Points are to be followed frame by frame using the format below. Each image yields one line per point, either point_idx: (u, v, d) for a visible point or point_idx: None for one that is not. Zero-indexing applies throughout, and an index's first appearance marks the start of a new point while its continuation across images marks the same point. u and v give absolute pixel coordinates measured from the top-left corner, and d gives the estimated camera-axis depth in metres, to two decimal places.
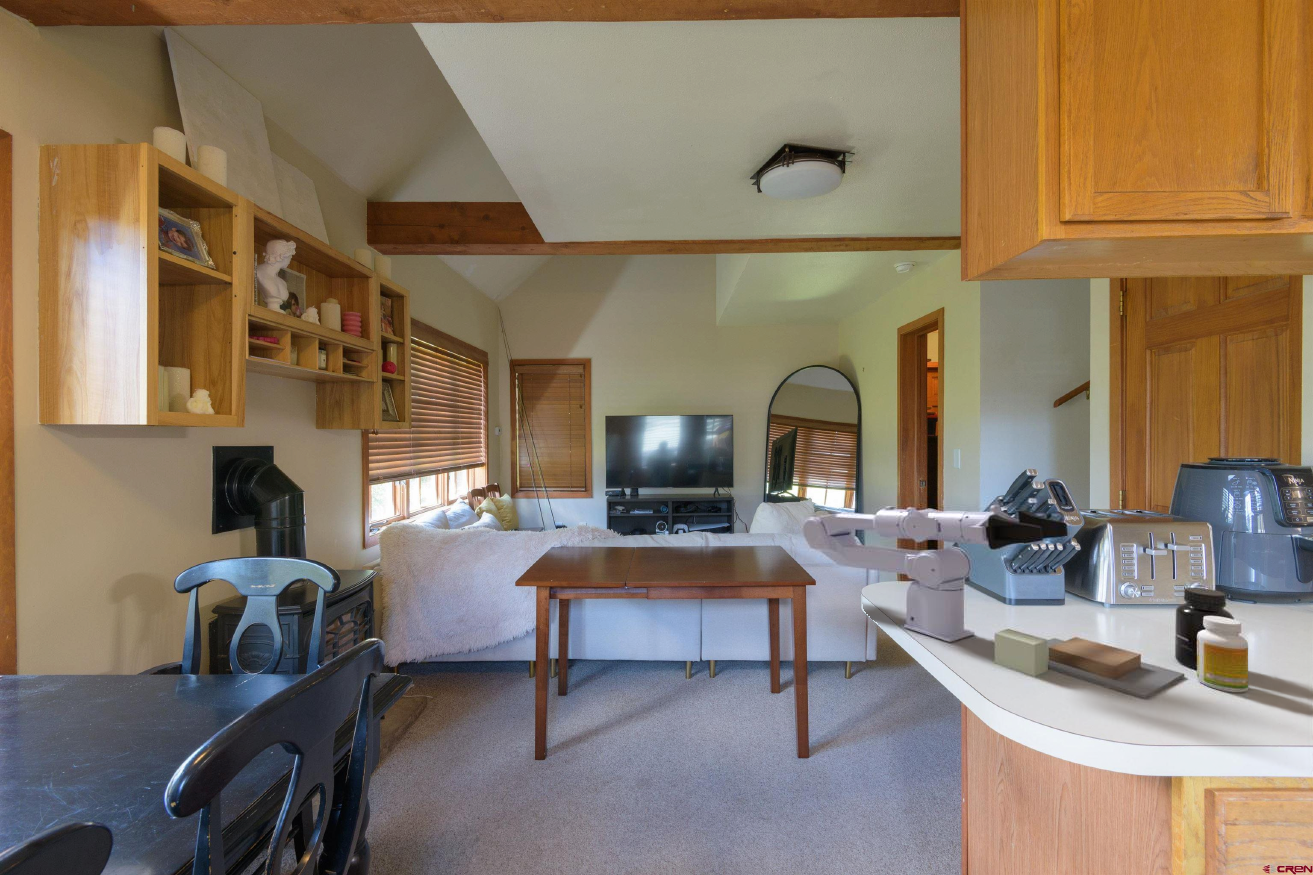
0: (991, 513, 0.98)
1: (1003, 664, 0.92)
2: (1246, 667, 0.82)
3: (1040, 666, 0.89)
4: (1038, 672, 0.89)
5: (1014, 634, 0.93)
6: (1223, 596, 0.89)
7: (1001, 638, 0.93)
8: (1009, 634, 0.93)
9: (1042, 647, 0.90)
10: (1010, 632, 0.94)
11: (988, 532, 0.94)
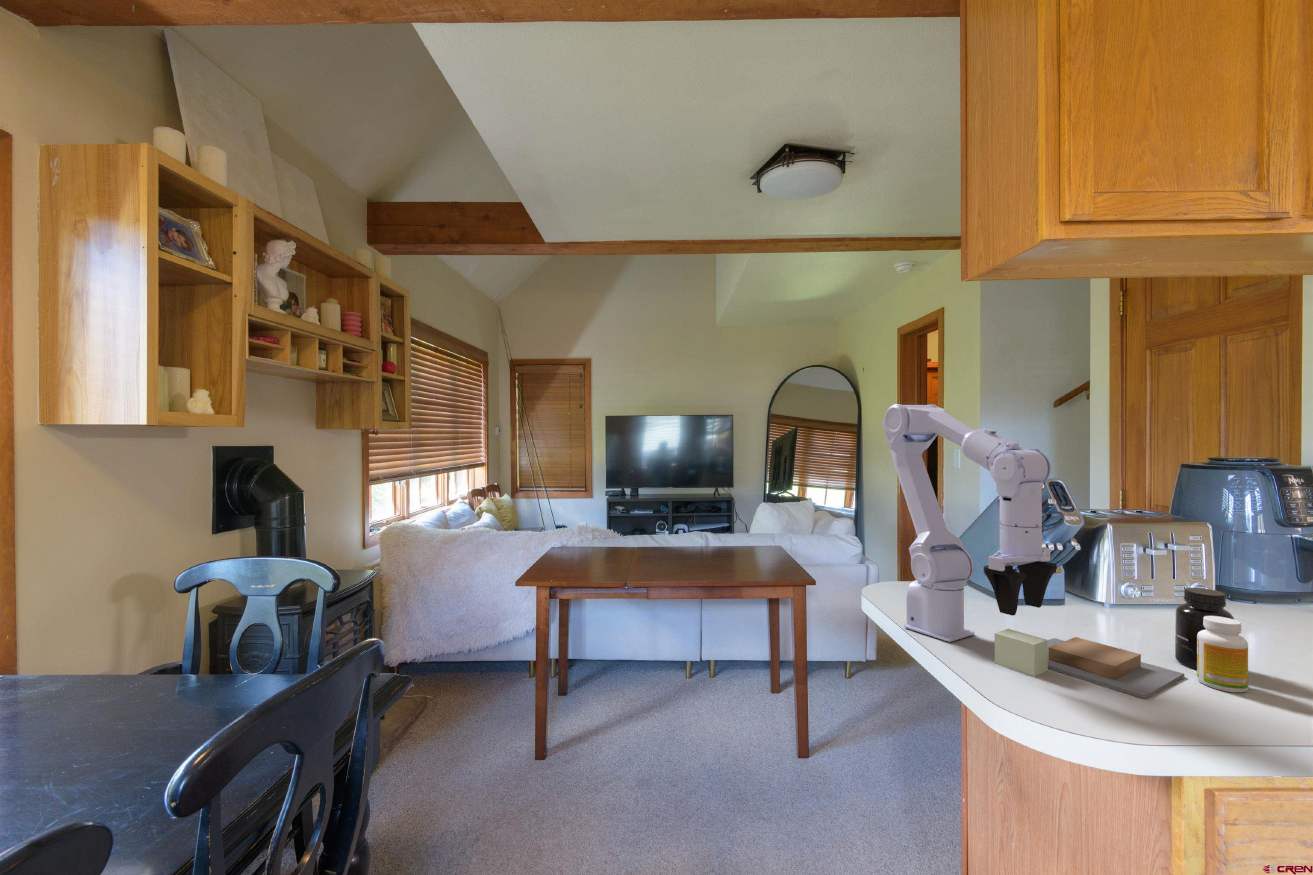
0: (1033, 558, 0.89)
1: (1003, 664, 0.92)
2: (1246, 667, 0.82)
3: (1040, 666, 0.89)
4: (1038, 672, 0.89)
5: (1014, 634, 0.93)
6: (1223, 596, 0.89)
7: (1001, 638, 0.93)
8: (1009, 634, 0.93)
9: (1042, 647, 0.90)
10: (1010, 632, 0.94)
11: (999, 571, 0.89)
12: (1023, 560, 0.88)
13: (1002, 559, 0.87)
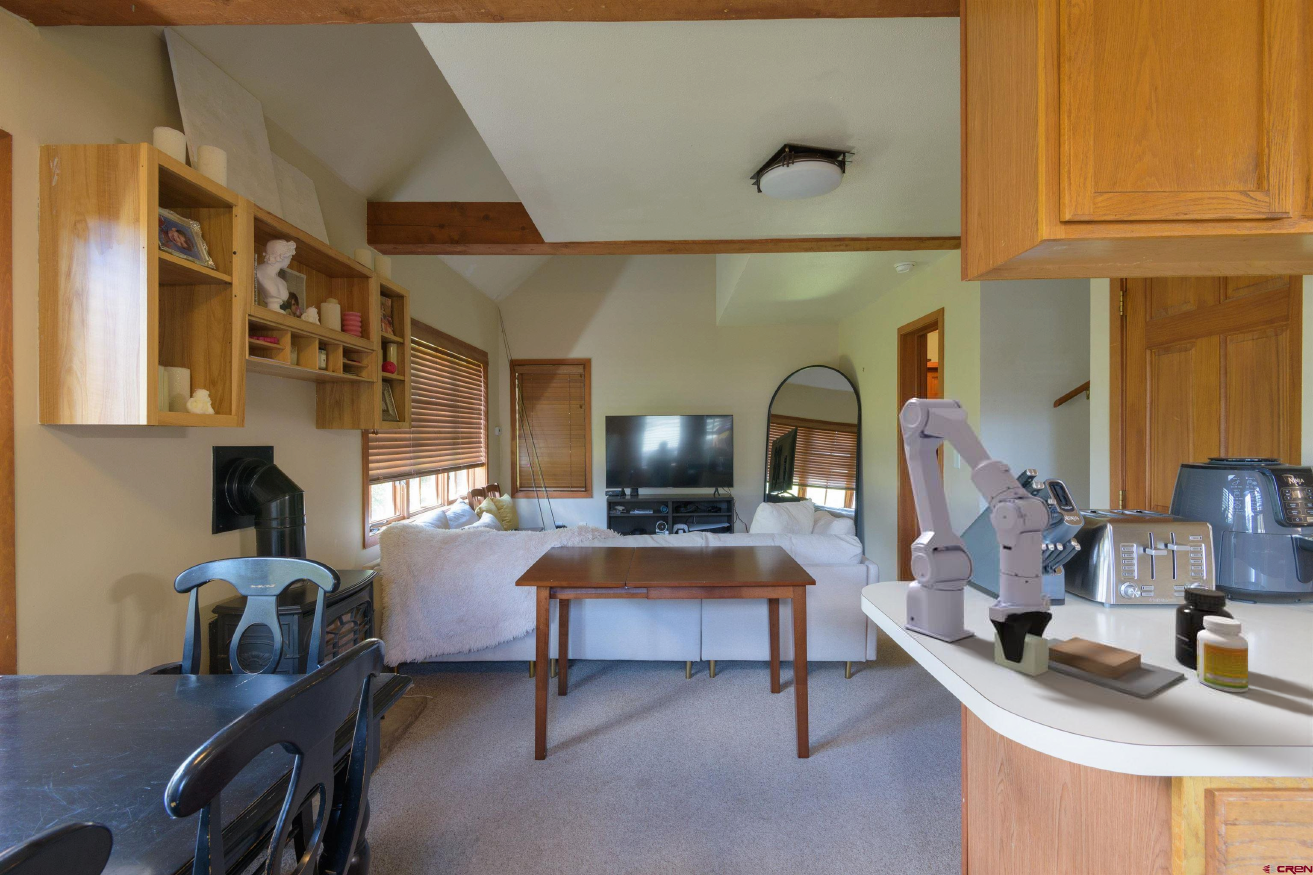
0: (1034, 608, 0.89)
1: (1003, 663, 0.92)
2: (1246, 667, 0.82)
3: (1040, 665, 0.89)
4: (1038, 671, 0.89)
5: None
6: (1223, 596, 0.89)
7: None
8: None
9: (1042, 646, 0.90)
10: None
11: (1004, 619, 0.90)
12: (1023, 610, 0.89)
13: (1002, 610, 0.88)
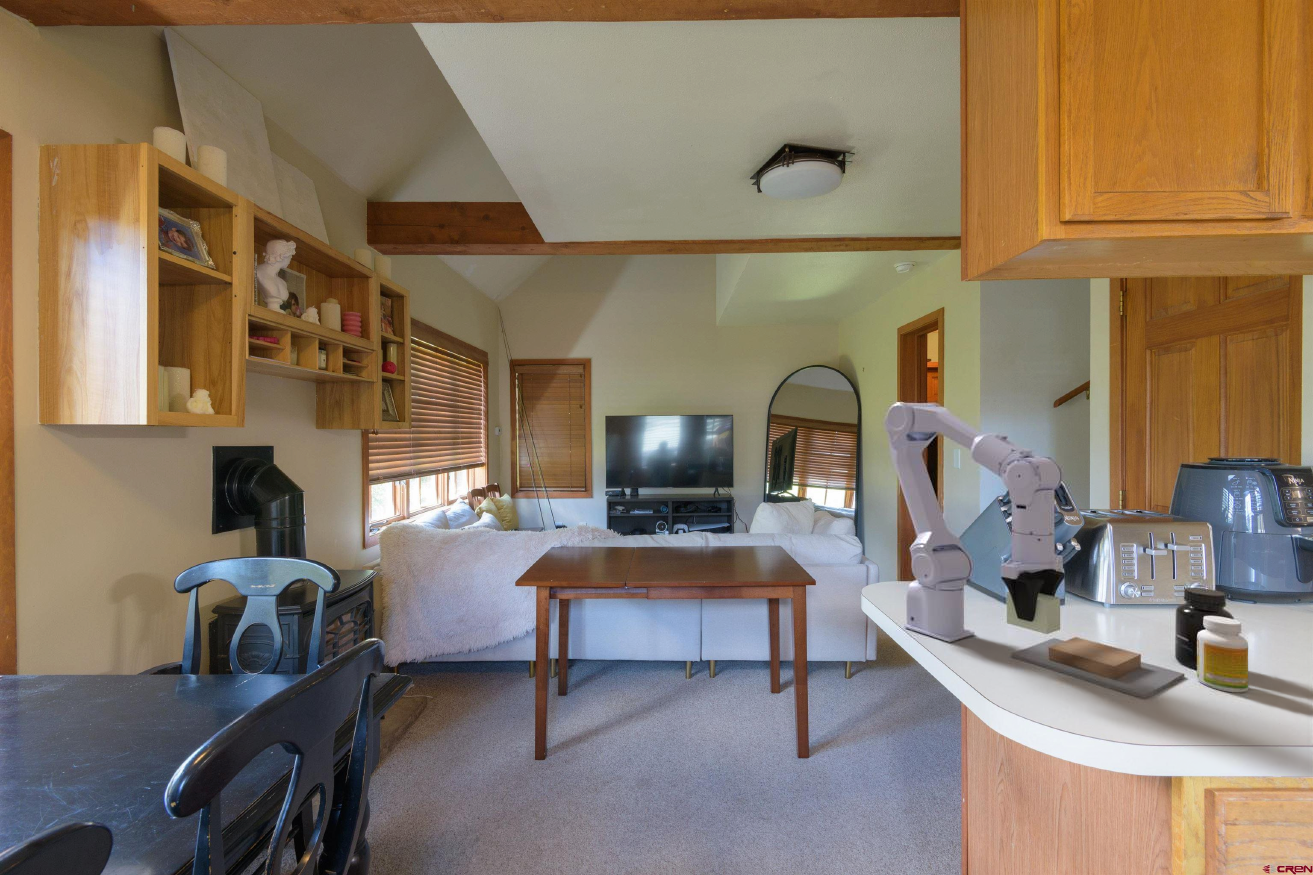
0: (1046, 566, 0.89)
1: (1015, 623, 0.92)
2: (1246, 667, 0.82)
3: (1053, 624, 0.89)
4: (1051, 630, 0.89)
5: None
6: (1223, 596, 0.89)
7: None
8: None
9: (1055, 605, 0.89)
10: None
11: (1017, 578, 0.89)
12: (1036, 568, 0.88)
13: (1015, 567, 0.87)
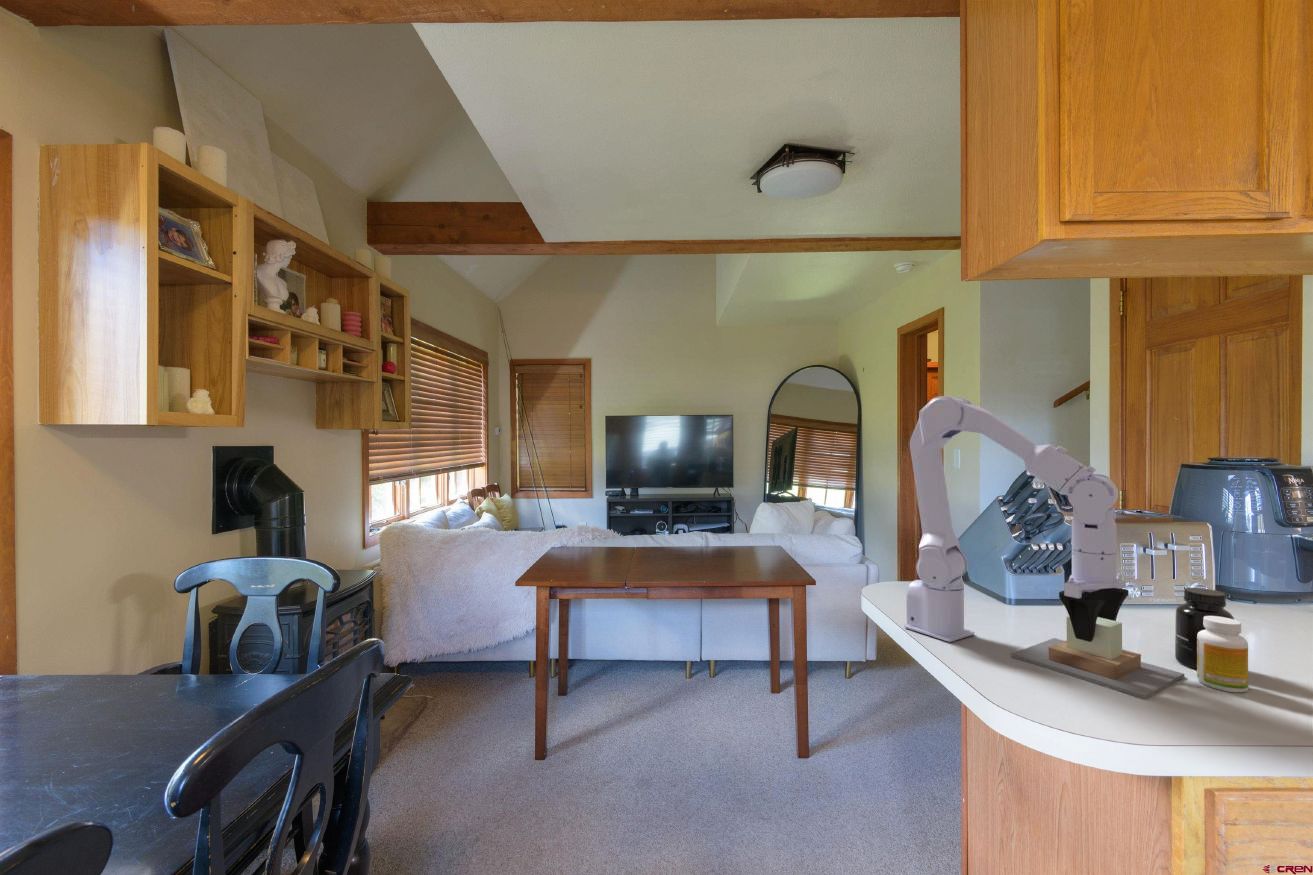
0: (1109, 585, 0.89)
1: (1076, 647, 0.92)
2: (1246, 667, 0.82)
3: (1115, 649, 0.89)
4: (1114, 655, 0.89)
5: None
6: (1223, 596, 0.89)
7: None
8: None
9: (1117, 630, 0.90)
10: None
11: (1076, 597, 0.89)
12: (1099, 587, 0.88)
13: (1079, 586, 0.87)
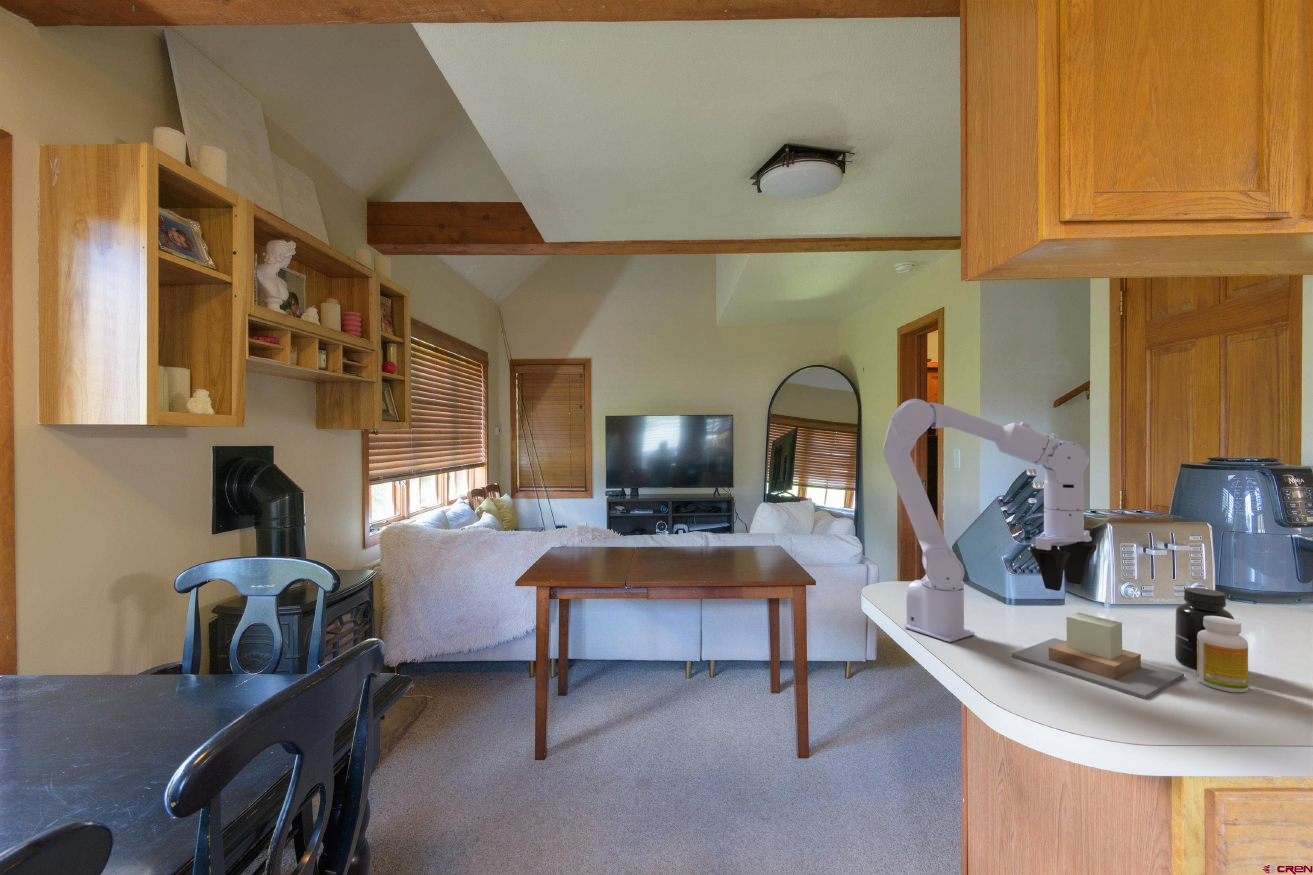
0: (1077, 539, 0.98)
1: (1076, 647, 0.92)
2: (1246, 667, 0.82)
3: (1115, 649, 0.89)
4: (1114, 655, 0.89)
5: (1086, 617, 0.93)
6: (1223, 596, 0.89)
7: (1074, 621, 0.92)
8: (1081, 617, 0.93)
9: (1117, 630, 0.90)
10: (1082, 616, 0.94)
11: (1045, 550, 0.98)
12: (1067, 540, 0.97)
13: (1049, 539, 0.96)
